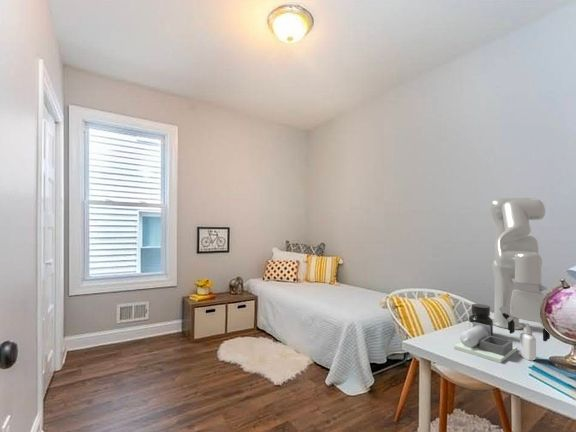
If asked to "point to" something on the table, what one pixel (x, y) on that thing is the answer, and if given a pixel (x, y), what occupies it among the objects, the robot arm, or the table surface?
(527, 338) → the eye dropper bottle
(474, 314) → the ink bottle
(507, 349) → the motor mount
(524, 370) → the table surface
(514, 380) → the table surface
